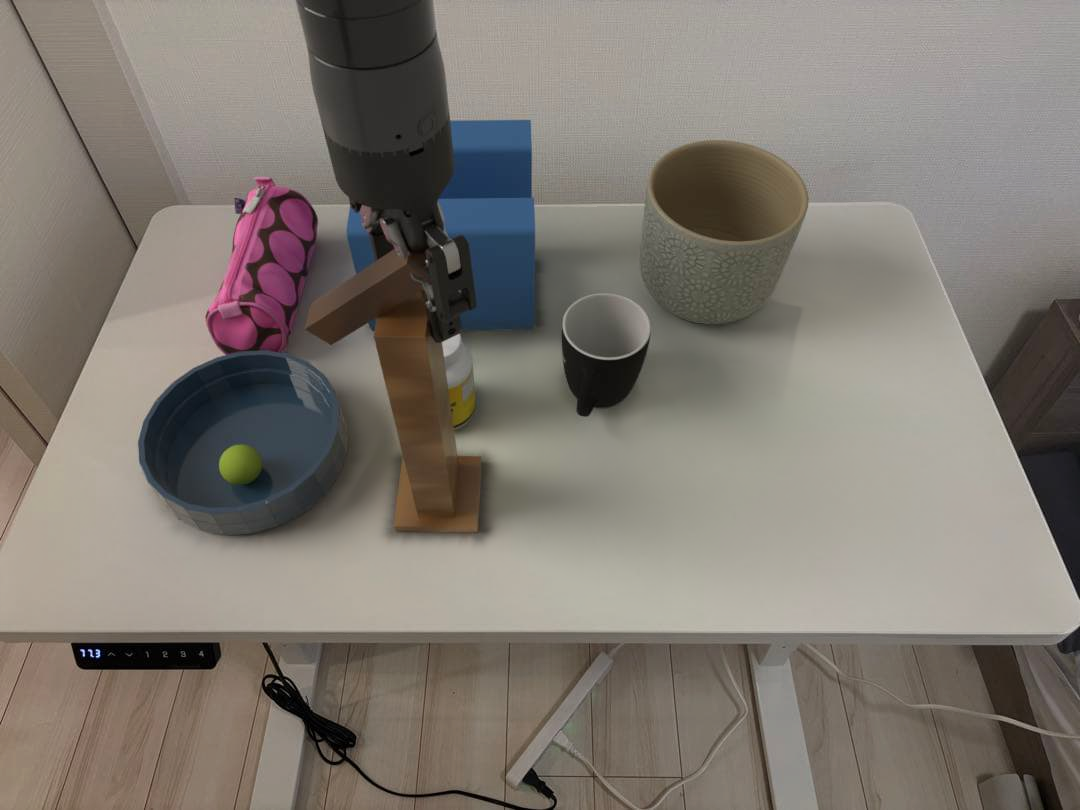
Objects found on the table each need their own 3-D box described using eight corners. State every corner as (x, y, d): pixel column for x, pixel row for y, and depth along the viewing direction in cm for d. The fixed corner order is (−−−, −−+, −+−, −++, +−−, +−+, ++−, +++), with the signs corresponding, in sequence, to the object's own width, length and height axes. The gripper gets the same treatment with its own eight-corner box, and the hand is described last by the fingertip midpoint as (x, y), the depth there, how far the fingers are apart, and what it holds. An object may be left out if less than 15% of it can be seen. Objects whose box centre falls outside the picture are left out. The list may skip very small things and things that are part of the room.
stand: (395, 531, 77) (339, 347, 54) (404, 461, 82) (355, 264, 59) (477, 532, 77) (456, 348, 54) (481, 462, 82) (463, 265, 59)
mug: (573, 345, 91) (577, 283, 83) (649, 366, 89) (661, 305, 81) (538, 427, 84) (539, 368, 76) (619, 451, 83) (629, 394, 74)
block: (388, 242, 100) (364, 118, 86) (530, 240, 101) (530, 116, 86) (375, 353, 90) (345, 232, 75) (534, 350, 90) (535, 230, 76)
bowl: (235, 575, 74) (218, 552, 70) (120, 460, 81) (98, 433, 77) (386, 445, 83) (379, 418, 79) (270, 351, 90) (258, 322, 86)
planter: (782, 345, 91) (822, 246, 79) (635, 341, 91) (652, 242, 79) (762, 243, 101) (794, 141, 89) (629, 240, 101) (643, 137, 89)
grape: (242, 499, 78) (230, 479, 75) (218, 476, 80) (204, 455, 76) (275, 473, 80) (264, 452, 77) (250, 451, 81) (239, 429, 78)
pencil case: (248, 236, 101) (223, 172, 93) (325, 235, 101) (307, 170, 93) (214, 369, 88) (182, 307, 80) (302, 367, 89) (279, 305, 80)
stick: (330, 345, 59) (304, 329, 57) (336, 320, 60) (310, 304, 58) (434, 283, 53) (407, 263, 51) (437, 257, 54) (411, 236, 52)
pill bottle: (403, 411, 85) (388, 342, 76) (445, 375, 88) (435, 304, 79) (447, 444, 83) (436, 377, 73) (488, 406, 86) (484, 336, 76)
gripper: (276, 71, 49) (332, 264, 62) (383, 198, 42) (420, 384, 55) (385, 35, 51) (416, 228, 64) (503, 149, 44) (511, 339, 57)
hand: (418, 300), depth 60 cm, fingers open, 8 cm apart
